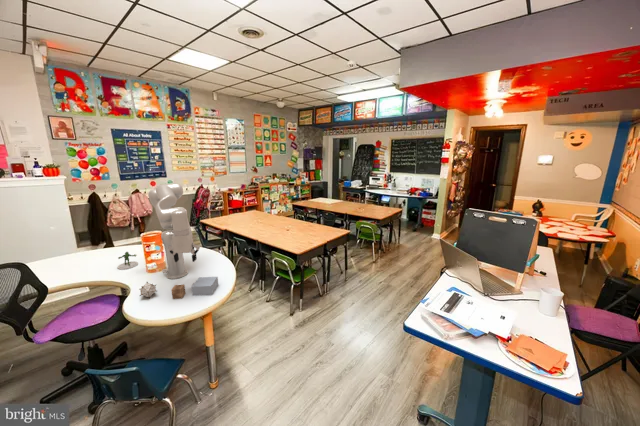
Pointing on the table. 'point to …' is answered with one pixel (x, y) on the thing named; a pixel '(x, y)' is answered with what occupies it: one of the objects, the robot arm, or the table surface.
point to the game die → (148, 290)
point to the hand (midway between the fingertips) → (185, 260)
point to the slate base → (204, 286)
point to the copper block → (178, 291)
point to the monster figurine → (127, 264)
